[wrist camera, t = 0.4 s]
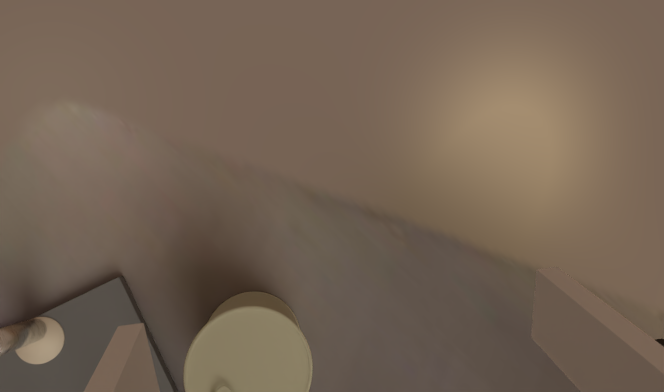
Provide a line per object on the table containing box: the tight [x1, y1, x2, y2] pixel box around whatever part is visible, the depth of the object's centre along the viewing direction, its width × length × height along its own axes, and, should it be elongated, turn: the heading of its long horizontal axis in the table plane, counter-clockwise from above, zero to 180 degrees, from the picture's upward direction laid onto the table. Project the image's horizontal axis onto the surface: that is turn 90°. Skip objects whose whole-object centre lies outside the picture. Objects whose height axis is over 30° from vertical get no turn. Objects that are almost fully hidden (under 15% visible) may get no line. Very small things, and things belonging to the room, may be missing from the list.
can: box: [183, 292, 313, 392], centre depth 38 cm, size 9×9×12 cm
